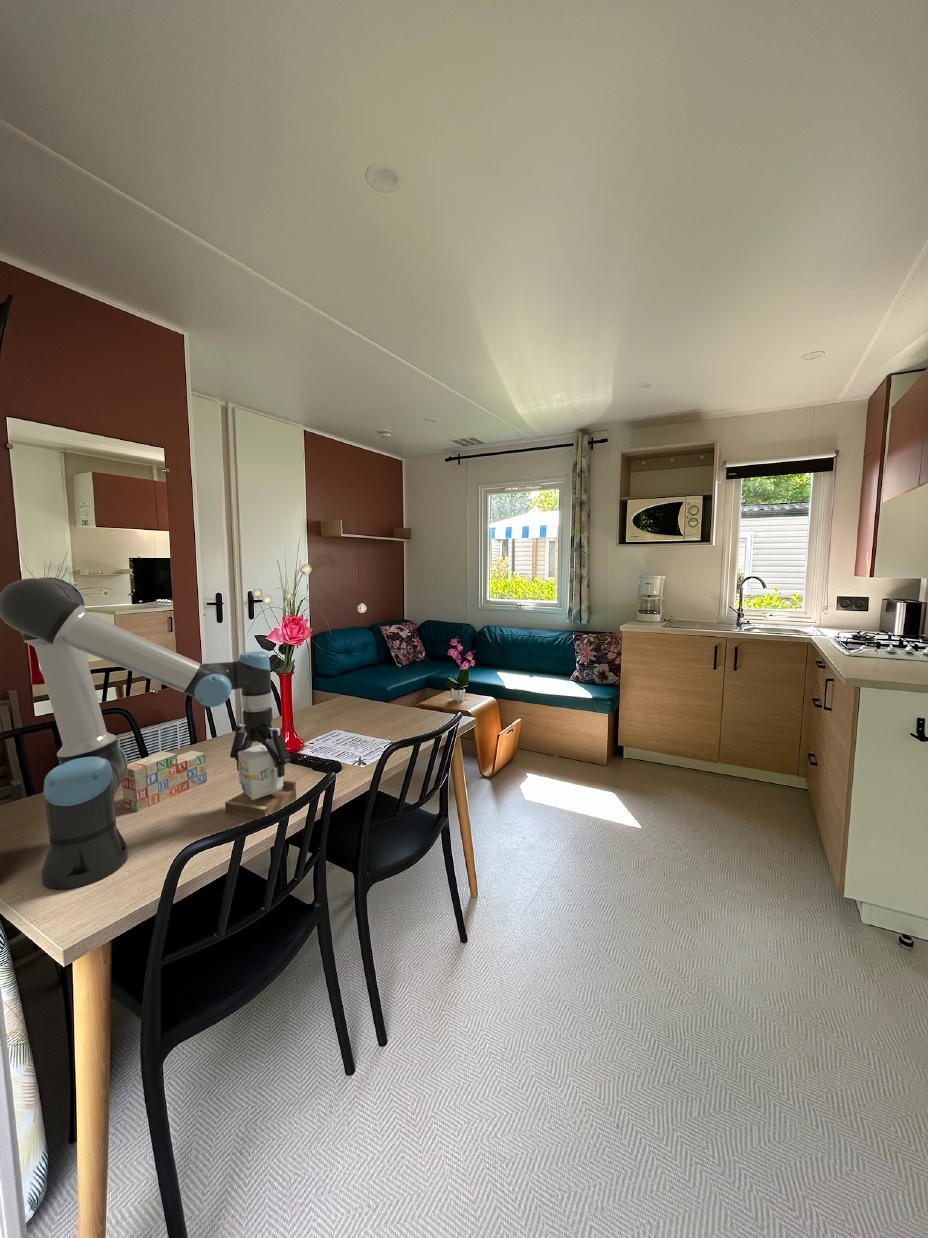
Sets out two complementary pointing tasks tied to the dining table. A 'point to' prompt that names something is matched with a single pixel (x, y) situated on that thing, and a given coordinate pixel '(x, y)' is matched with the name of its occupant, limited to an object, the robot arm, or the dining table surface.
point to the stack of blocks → (161, 778)
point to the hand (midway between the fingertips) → (261, 785)
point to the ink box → (257, 772)
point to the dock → (261, 802)
